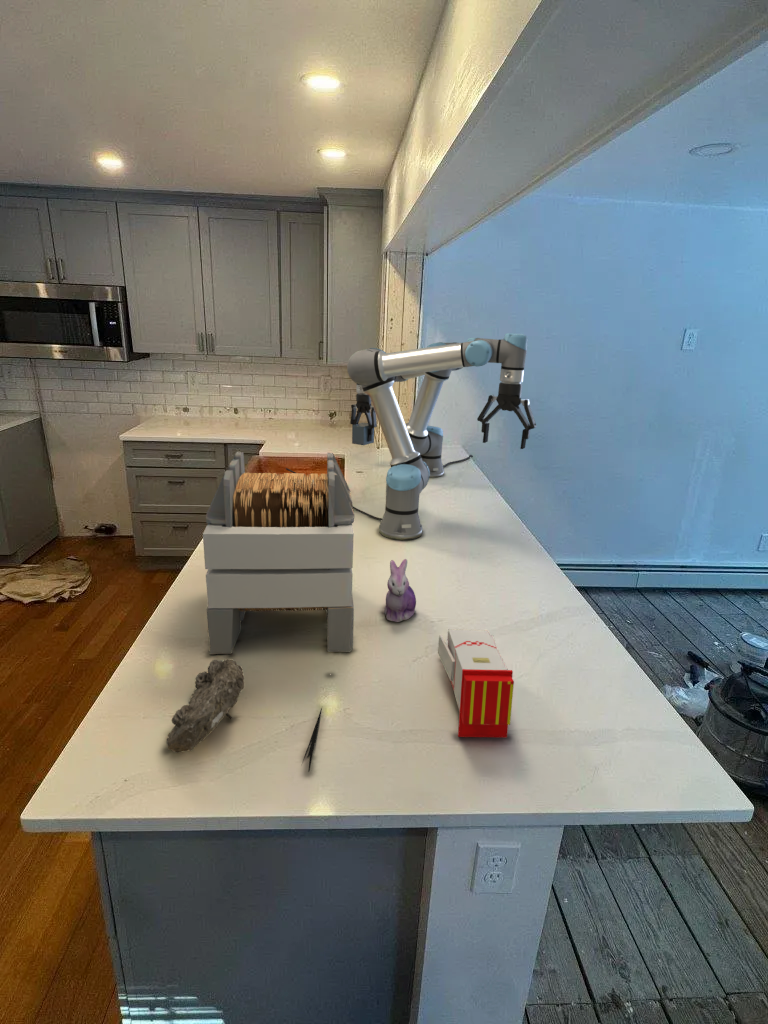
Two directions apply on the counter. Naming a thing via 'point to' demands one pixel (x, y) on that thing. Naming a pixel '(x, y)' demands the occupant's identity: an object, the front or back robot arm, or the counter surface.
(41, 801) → the counter surface
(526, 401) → the front robot arm
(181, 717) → the fossil
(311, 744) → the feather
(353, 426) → the block
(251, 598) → the record crate stand
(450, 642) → the toy
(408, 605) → the figurine
